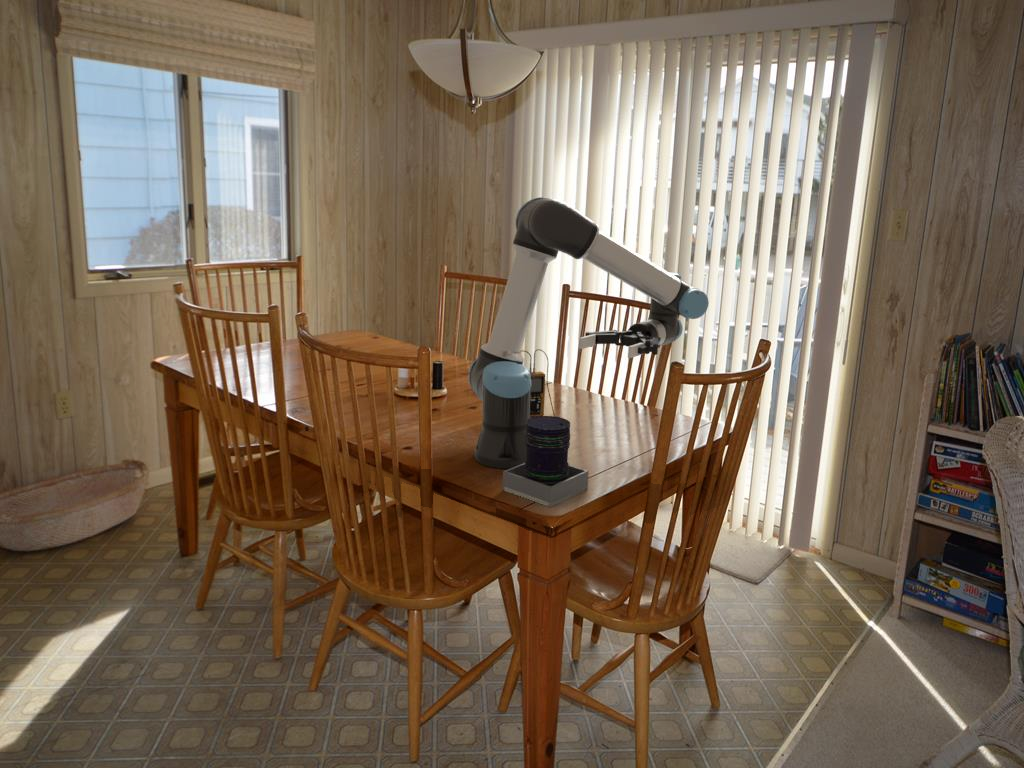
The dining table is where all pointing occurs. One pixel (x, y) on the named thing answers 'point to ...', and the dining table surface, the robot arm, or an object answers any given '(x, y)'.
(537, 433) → the dark blue ribbed cylinder
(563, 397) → the dining table surface
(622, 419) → the dining table surface
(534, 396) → the multimeter
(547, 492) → the cradle tray
